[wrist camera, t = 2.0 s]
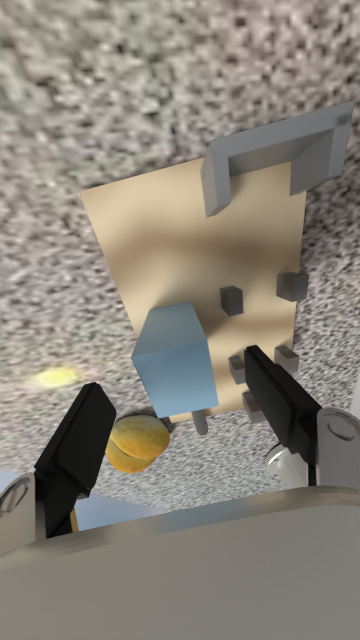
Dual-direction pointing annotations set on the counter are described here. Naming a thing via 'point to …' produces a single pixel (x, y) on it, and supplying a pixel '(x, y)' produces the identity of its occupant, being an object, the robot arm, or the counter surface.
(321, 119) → the end holder
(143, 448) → the bread roll
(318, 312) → the counter surface
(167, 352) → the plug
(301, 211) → the board
